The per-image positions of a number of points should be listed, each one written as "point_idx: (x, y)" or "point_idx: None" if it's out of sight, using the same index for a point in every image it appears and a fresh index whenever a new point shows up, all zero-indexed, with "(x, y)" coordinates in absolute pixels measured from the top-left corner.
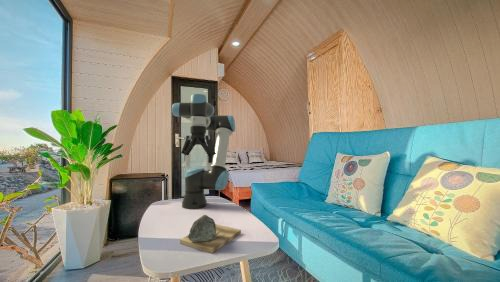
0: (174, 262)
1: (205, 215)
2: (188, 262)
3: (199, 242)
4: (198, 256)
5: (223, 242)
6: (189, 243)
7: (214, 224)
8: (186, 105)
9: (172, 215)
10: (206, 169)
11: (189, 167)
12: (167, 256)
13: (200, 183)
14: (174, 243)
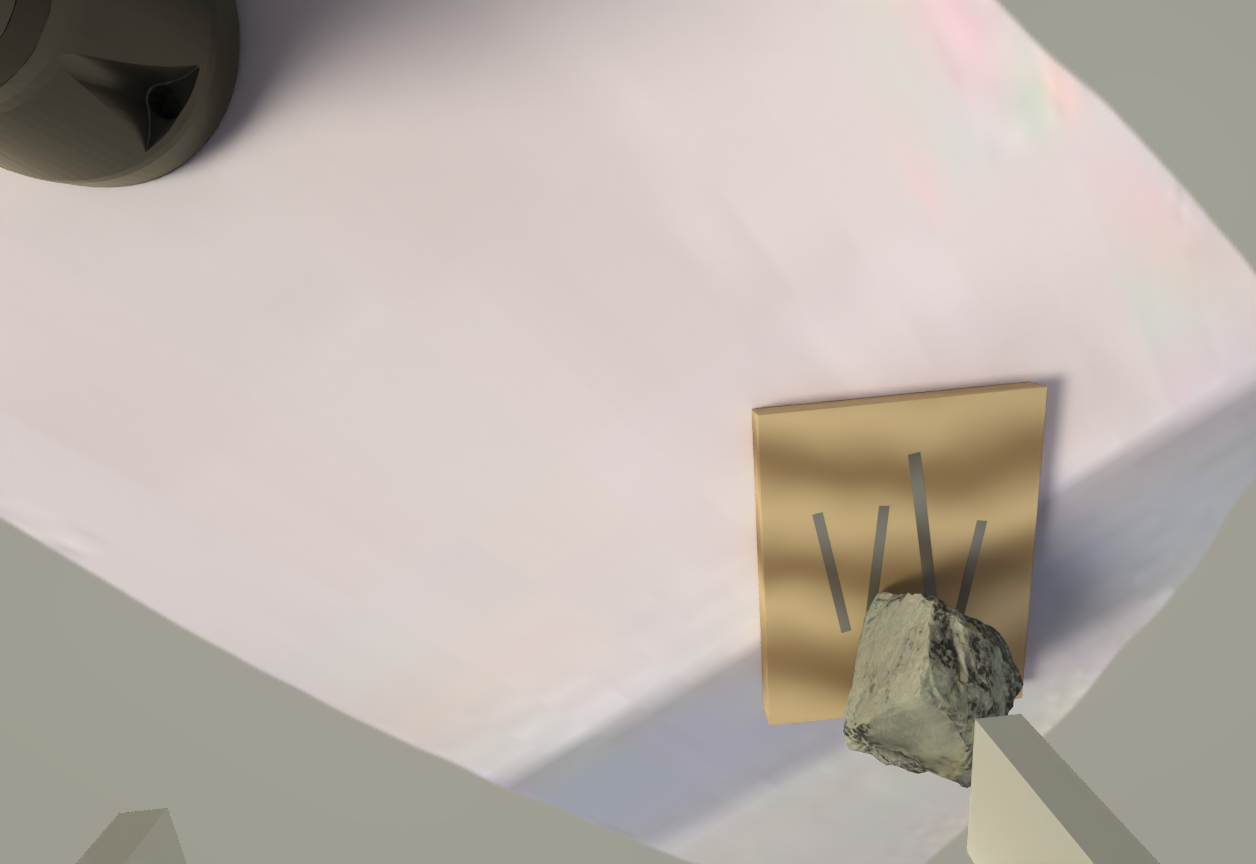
0: (893, 826)
1: (964, 718)
2: (952, 793)
3: None
4: None
5: (1026, 598)
6: None
7: (1006, 654)
8: None
9: (240, 426)
10: (981, 862)
11: (170, 835)
12: (821, 817)
13: None
14: (736, 725)
